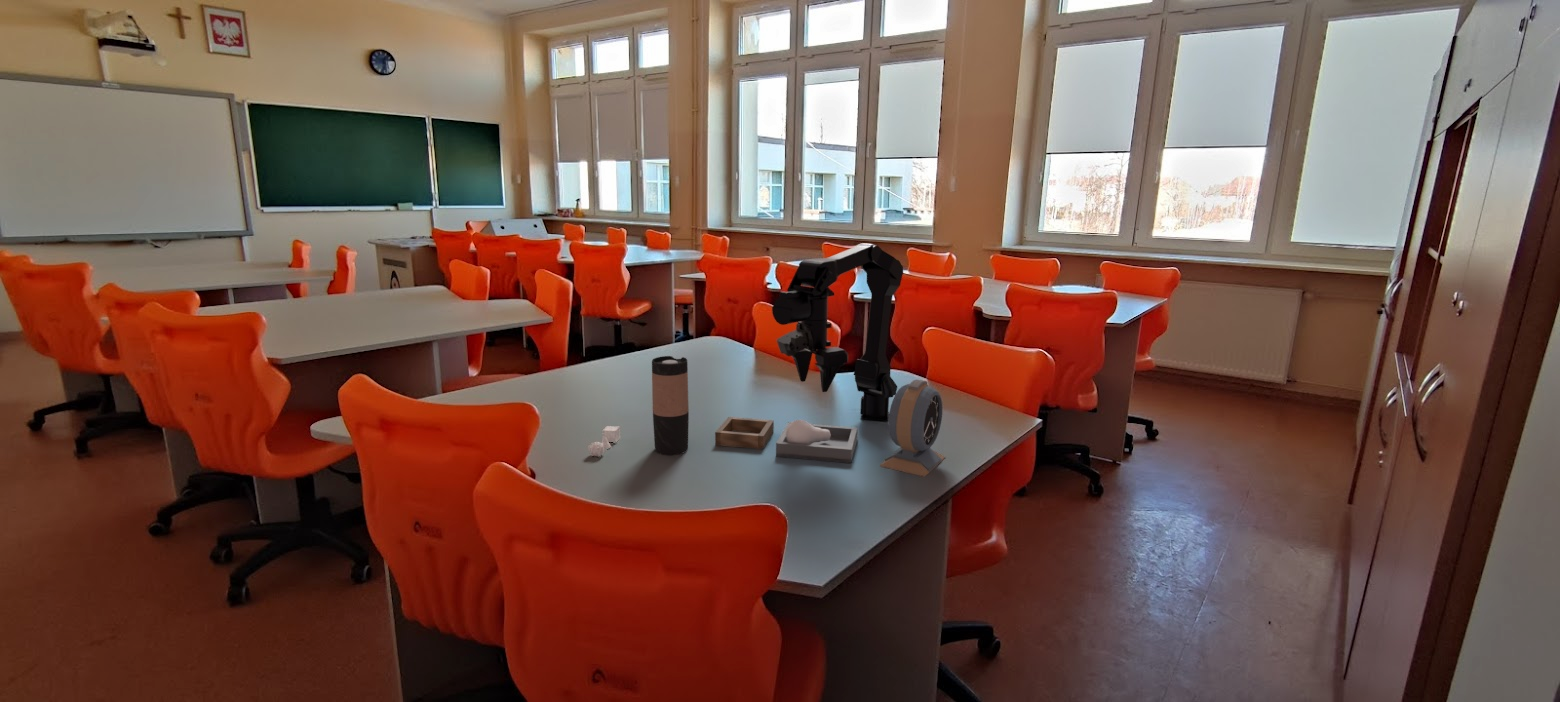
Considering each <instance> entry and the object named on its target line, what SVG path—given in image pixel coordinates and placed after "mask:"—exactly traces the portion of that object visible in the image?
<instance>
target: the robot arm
mask: <svg viewBox="0 0 1560 702" xmlns="http://www.w3.org/2000/svg"><path fill="white" fill-rule="evenodd" d="M859 267H860V268H861V269H862V271H864V273H866V284H867V287H868V289H869V291H870V295H871V296H870V305H869V307H870V308H869V316H868V323H867V325H868V326H867V330H866V331H867V333H866V342H865V343H866V344H865V349H864V353H863V355H862V356H861V357H860V359H859V358H857V359H856V360H855V363H854V365H855V368H854V371H853V372H854V373H853V376H854V381H855V384H856V388H857V392H862V393H863V396H861V398H860V415H861V419H862V420H870V421H871V420H872V421H881V422H882V421H883V422H889V413H890V408H889V407H890V405H889V404H890V398H894V396H895V395H896V393H897V391H898V385H897V384H896V383H895V381H894V379H893V378H892V376H891V364H890V362H889V360H888V357H887V355H886V353H887V346H888V345H887V343H888V335H889V327H890V321H891V320H890V318H891V309H892V302H893V296H894V294H895V293H896V292H897V290H899V287H900V286H901V283H902V278H903V274H904V265H902V264H901V261H900V260H899V259H897V258H896V257H895V256H893V255H891V254H889V253H888V252H886V251H884V250H883V249H882V248H881V247H880V246H879V245H877V244H875V243H864V242H862V243H858V244H857V245H856V246H854V247H851V248H848V249H846V250H843V251H840V252H839V253H837V254H834V255H831V256H829V257H822V258H820V257H819V258H818V257H817V258H809V259H804V260H802V261H800V262H799V263H798V267H797V268H796V271H795V273H794V275H793V276H792V279H791V281H790V284H789V285H788V287H787V288H786V289H787V290H786V291H779V293H778V294H779V296H778V298H776V299H775V301H773V305H772V309H771V311H772V312H771V313H772V316H773V318H774V320H775V322H776V323H778V324H779V325H780V326H783V325H784V326H786V325H790V324H796V328H795V329H794V330H791V331H790V332H787V333H786V334H784V335H782V336H779V338H778V337H777V339H776V342H777V343H776V344H777V345H778V350H779V351H780V354H784V355H785V356H787V357H792V359H793V361H794V364H795V367H796V370H797V373H798V376H799V380H800V382H801V383H803V382H806V380H807V378H808V373H809V371H810V370H809V369H810V365H811V360H812V356H813V354H814V359H815V363H814V365H815V366H816V367H817V368H818V370H819V373H820V375H819V376H820V387H821V392H823V393H827V392H829V391H828V390H829V388H830V387H831V384H832V382H833V381H834V379H835V377H836V375H837V373H838V372H839V371H840V369H841V367H843V366H845V364H847V363H848V362H849V352H847V350H845V349H843V348H840V347H838V346H832V341H831V340H828V329H832V323H831V322H828V307H829V306H828V303H829V302H828V301H829V300H828V298H829V297H833V296H835V292H834V291H833V290H832V289H830V287H831V286H832V285H833V284H835V283H836V282H837V281H838V278H839V277H840V276H841V275H843V274H846V273H848V272H850V271H853V270H855V269H858V268H859Z"/></svg>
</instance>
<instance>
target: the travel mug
mask: <svg viewBox="0 0 1560 702" xmlns="http://www.w3.org/2000/svg"><path fill="white" fill-rule="evenodd" d="M688 370H689V369H688V359H687V357H683V356H682V357H681V358H674V357H673V356H671V355H664V356H663V355H662V356H657V357H654V358H652V360H651V380H652V381H651V382H652V385H651V389H652V390H651V391H652V397H651V398H652V421H653V422H652V423H653V424H652V425H653V434H654V435H653V436H654V437H653V439H654V449H655V452H656V453H657V452H658V453H657V454H660V453H661V455H664V454H666V455H665V456H674V454H676V455H681V454H683V452H684V453H686V452H687V451H688V449H689V423H690V422H689V419H690V417H689V411H690V409H689V404H690V403H689V373H688ZM680 453H681V454H680Z"/></svg>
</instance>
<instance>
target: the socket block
mask: <svg viewBox="0 0 1560 702" xmlns="http://www.w3.org/2000/svg"><path fill="white" fill-rule="evenodd" d="M774 424H775V423H774V420H772V419H761V418H760V419H759V418H747V417H746V418H745V417H735V416H728V417H727V418H726V419H725V420H724V421H723V422H722V424H721V425H720V426H719V427H718V428H717V430H716V431H715V433H714V435H715V437H714V438H715V441H714V442H715V443H714V444H715V446H721V447H722V446H723V447H733V448H734V447H735V448H743V449H744V448H746V449H755V450H756V449H757V450H765V448H766V446H767V444H768V442H769V440H770V439H771V437H772V436H773V434H774V428H775V427H774Z"/></svg>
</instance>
